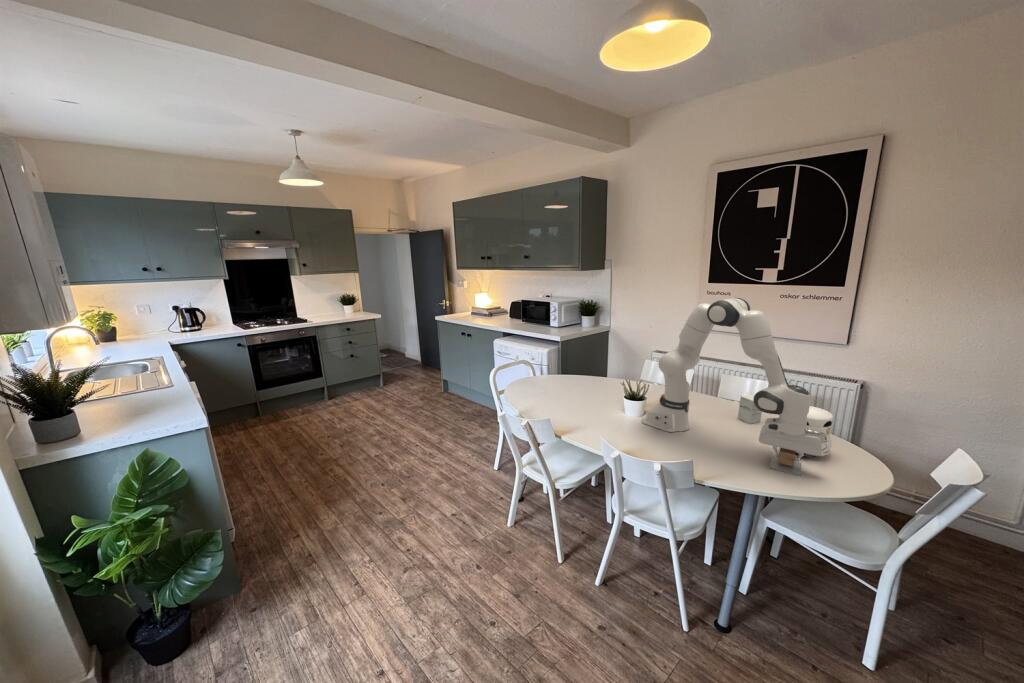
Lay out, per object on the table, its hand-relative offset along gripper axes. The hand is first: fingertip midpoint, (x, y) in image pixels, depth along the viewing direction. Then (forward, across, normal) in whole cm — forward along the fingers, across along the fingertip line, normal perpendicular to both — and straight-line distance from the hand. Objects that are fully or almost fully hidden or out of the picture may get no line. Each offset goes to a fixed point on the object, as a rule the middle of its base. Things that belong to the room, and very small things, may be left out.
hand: (786, 458), depth 152 cm
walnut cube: (+2, 0, 0) cm, 2 cm away
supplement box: (+4, +16, -42) cm, 45 cm away
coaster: (+4, 0, 0) cm, 4 cm away
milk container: (+4, -6, -20) cm, 21 cm away
